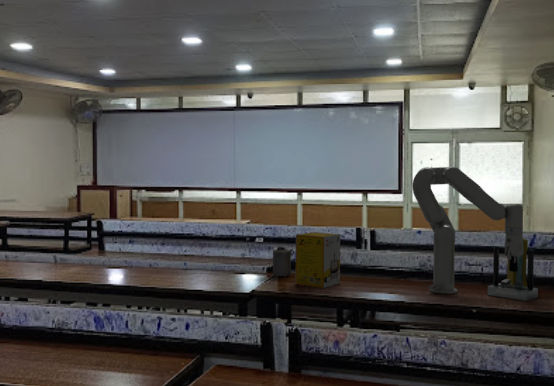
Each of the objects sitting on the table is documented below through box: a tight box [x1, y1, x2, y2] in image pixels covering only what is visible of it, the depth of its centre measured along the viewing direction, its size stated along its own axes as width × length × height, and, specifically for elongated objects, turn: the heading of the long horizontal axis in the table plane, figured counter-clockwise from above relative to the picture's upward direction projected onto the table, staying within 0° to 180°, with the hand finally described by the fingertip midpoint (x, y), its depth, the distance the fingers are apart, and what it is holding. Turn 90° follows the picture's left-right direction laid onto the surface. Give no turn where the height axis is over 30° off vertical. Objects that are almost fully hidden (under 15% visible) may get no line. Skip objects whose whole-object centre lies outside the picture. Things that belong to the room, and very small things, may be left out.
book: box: [506, 238, 529, 287], centre depth 286 cm, size 17×7×25 cm, turn 168°
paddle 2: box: [515, 282, 524, 286], centre depth 268 cm, size 4×2×2 cm, turn 134°
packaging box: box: [295, 231, 341, 289], centre depth 296 cm, size 16×16×25 cm
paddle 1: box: [500, 278, 511, 286], centre depth 272 cm, size 4×2×2 cm, turn 134°
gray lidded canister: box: [272, 249, 292, 277], centre depth 319 cm, size 10×10×15 cm
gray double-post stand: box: [487, 245, 539, 302], centre depth 270 cm, size 12×18×22 cm, turn 44°
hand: (513, 271), depth 270 cm, fingers closed
